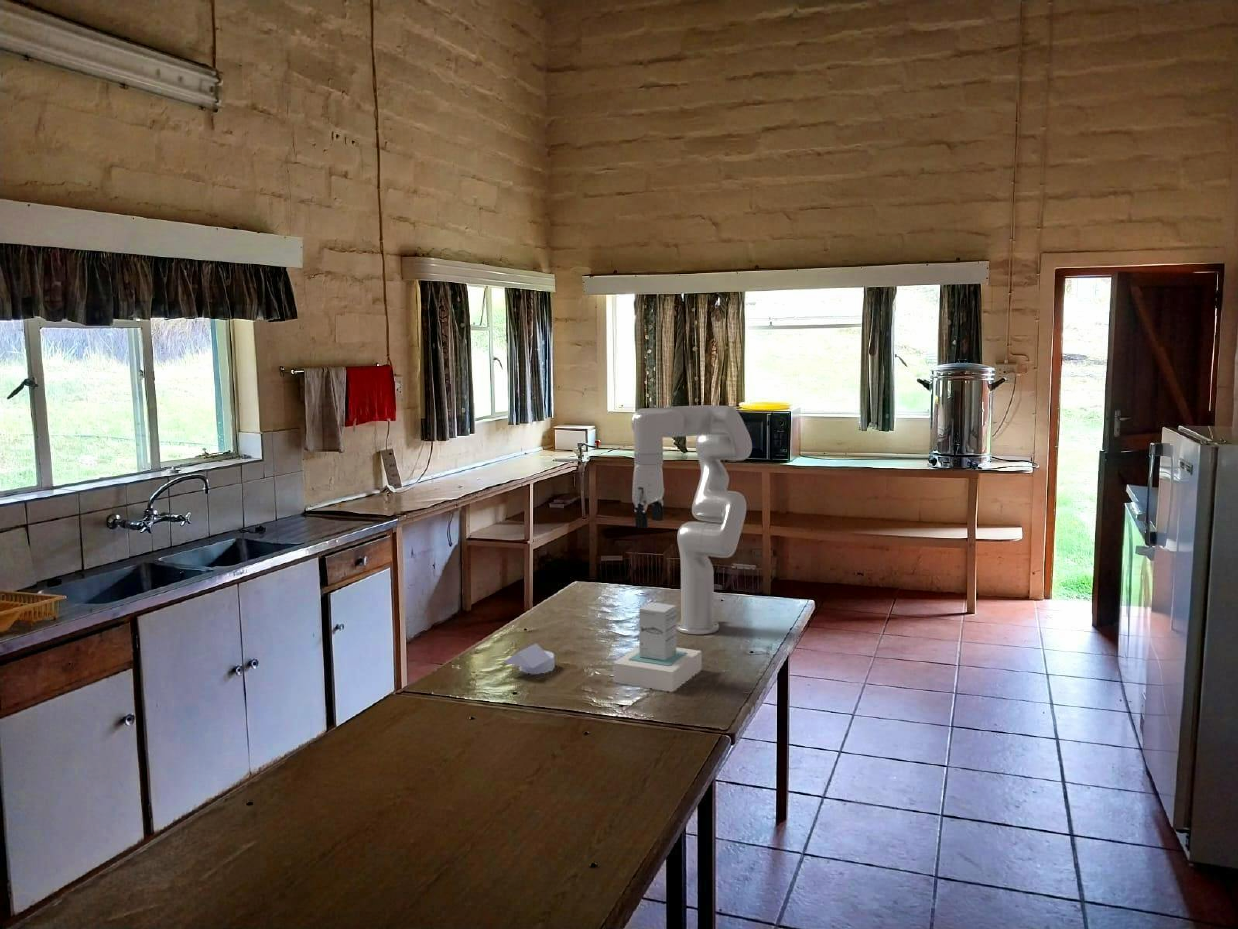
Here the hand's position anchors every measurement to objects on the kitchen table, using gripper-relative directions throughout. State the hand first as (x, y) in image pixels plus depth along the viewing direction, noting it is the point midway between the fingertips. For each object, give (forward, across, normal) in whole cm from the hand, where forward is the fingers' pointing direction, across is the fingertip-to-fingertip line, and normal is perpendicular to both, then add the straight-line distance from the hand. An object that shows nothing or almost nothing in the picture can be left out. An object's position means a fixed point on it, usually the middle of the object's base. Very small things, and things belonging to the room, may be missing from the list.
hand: (649, 523), depth 258 cm
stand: (+36, +14, +8) cm, 39 cm away
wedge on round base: (+36, +24, -22) cm, 49 cm away
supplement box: (+31, +14, +8) cm, 35 cm away
